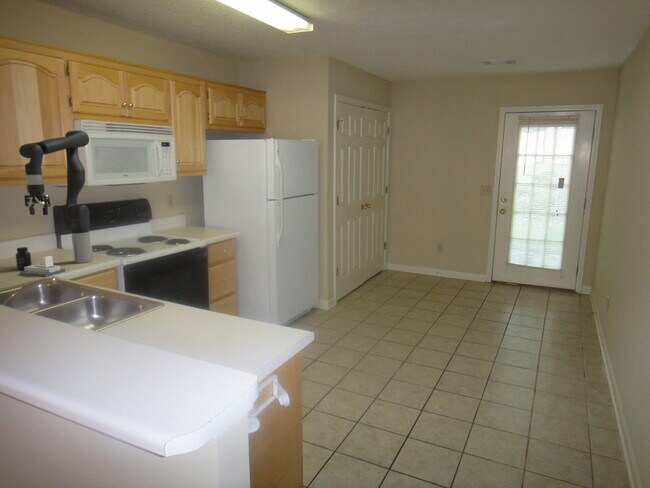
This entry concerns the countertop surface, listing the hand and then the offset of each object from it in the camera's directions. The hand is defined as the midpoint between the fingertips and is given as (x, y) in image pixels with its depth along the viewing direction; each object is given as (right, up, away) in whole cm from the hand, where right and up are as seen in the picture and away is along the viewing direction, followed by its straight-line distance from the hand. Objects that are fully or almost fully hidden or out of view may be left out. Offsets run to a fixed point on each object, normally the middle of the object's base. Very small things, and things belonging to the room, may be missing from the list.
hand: (39, 214), depth 234 cm
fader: (+6, -29, -1) cm, 30 cm away
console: (+2, -30, 0) cm, 30 cm away
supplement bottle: (-14, -29, +10) cm, 34 cm away
